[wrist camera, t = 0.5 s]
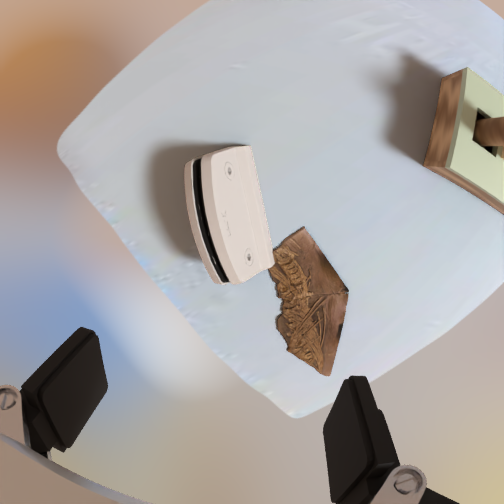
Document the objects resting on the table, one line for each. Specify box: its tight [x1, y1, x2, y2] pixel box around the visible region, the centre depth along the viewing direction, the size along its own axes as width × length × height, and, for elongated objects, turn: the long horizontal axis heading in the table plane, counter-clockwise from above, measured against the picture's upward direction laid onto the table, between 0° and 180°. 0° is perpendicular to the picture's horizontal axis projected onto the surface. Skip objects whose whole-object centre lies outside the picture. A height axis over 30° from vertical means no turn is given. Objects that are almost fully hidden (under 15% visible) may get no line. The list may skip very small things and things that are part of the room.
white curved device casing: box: [184, 146, 275, 285], centre depth 34 cm, size 17×5×10 cm, turn 12°
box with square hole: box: [423, 69, 504, 215], centre depth 29 cm, size 15×22×6 cm
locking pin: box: [472, 117, 504, 146], centre depth 25 cm, size 4×4×12 cm
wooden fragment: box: [268, 227, 349, 376], centre depth 41 cm, size 26×11×1 cm, turn 11°
